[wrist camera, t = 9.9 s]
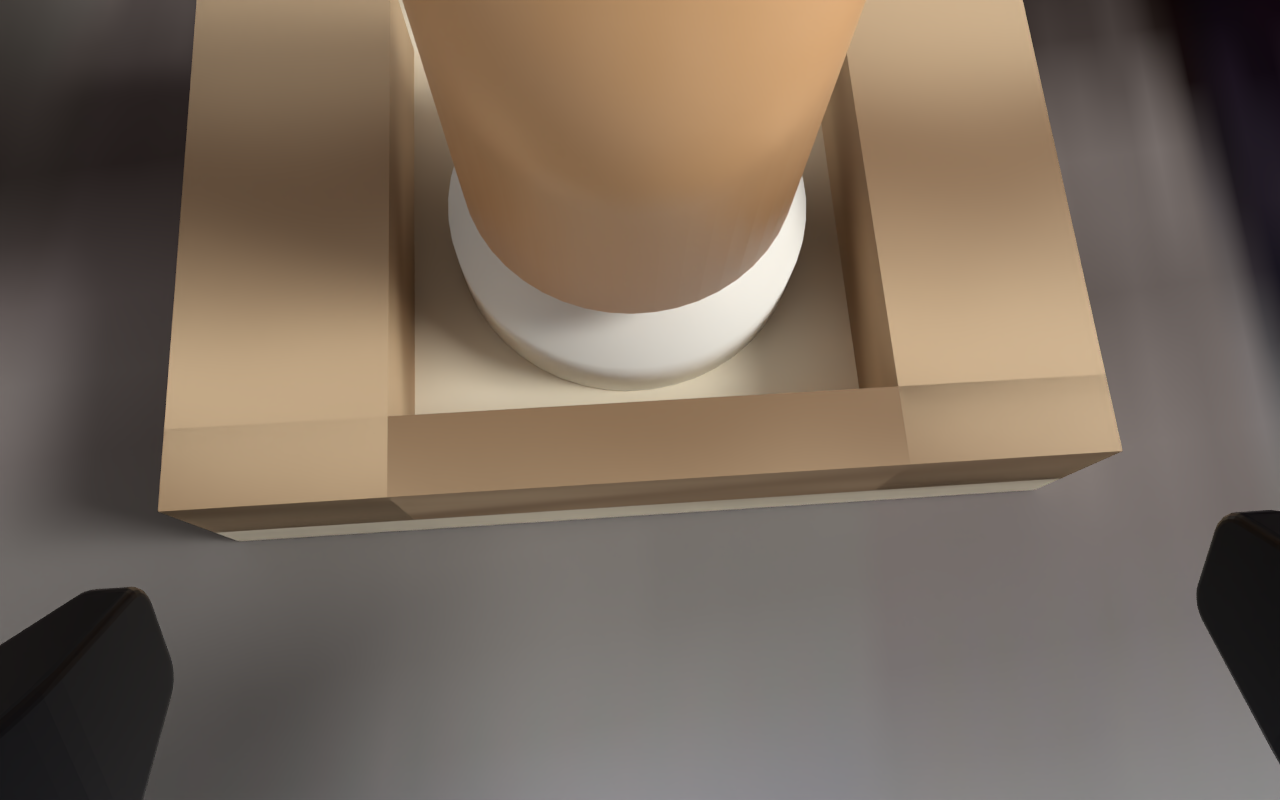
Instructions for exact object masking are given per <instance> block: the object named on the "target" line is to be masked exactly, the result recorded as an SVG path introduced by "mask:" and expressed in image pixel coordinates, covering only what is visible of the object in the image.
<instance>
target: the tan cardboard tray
mask: <svg viewBox="0 0 1280 800" xmlns="http://www.w3.org/2000/svg"><path fill="white" fill-rule="evenodd" d="M453 168H454V164H453V160H452V157H451V154H450V151H449V148H448V144H447V141H446V138H445V135H444V132H443V128H442V125H441V122H440V119H439V116H438V113H437V109H436V106H435V103H434V100H433V97H432V93H431V90H430V87H429V84H428V81H427V77H426V74H425V71H424V68H423V65H422V61H421V58H420V55H419V52H418V49H417V46H416V42H415V39H414V36H413V33H412V30H411V26H410V23H409V20H408V17H407V14H406V10H405V7H404V4H403V1H402V0H197V4H196V17H195V30H194V44H193V57H192V70H191V83H190V96H189V109H188V122H187V135H186V149H185V162H184V175H183V188H182V201H181V214H180V227H179V240H178V254H177V267H176V280H175V293H174V306H173V319H172V332H171V345H170V359H169V372H168V385H167V398H166V411H165V424H164V437H163V450H162V464H161V477H160V490H159V503H158V512H160V513H163V514H166V515H168V516H171V517H174V518H177V519H179V520H182V521H185V522H187V523H190V524H193V525H196V526H198V527H201V528H204V529H206V530H209V531H212V532H215V533H217V534H220V535H223V536H225V537H228V538H231V539H234V540H236V541H252V540H268V539H283V538H299V537H314V536H330V535H345V534H361V533H376V532H392V531H407V530H423V529H438V528H454V527H469V526H484V525H500V524H515V523H531V522H546V521H562V520H577V519H593V518H608V517H624V516H639V515H655V514H670V513H686V512H701V511H717V510H732V509H748V508H763V507H778V506H794V505H809V504H825V503H840V502H856V501H871V500H887V499H902V498H918V497H933V496H949V495H964V494H980V493H995V492H1011V491H1026V490H1036V489H1038V488H1040V487H1042V486H1045V485H1047V484H1049V483H1051V482H1054V481H1056V480H1058V479H1060V478H1063V477H1065V476H1067V475H1069V474H1072V473H1074V472H1076V471H1078V470H1081V469H1083V468H1085V467H1088V466H1090V465H1092V464H1094V463H1097V462H1099V461H1101V460H1103V459H1106V458H1108V457H1110V456H1112V455H1115V454H1117V453H1119V452H1121V451H1122V447H1121V442H1120V438H1119V433H1118V429H1117V424H1116V420H1115V415H1114V410H1113V406H1112V401H1111V397H1110V392H1109V388H1108V383H1107V379H1106V374H1105V370H1104V365H1103V361H1102V356H1101V352H1100V347H1099V343H1098V338H1097V334H1096V329H1095V325H1094V320H1093V316H1092V311H1091V307H1090V302H1089V298H1088V293H1087V289H1086V284H1085V280H1084V275H1083V271H1082V266H1081V262H1080V257H1079V253H1078V248H1077V244H1076V239H1075V234H1074V230H1073V225H1072V221H1071V216H1070V212H1069V207H1068V203H1067V198H1066V194H1065V189H1064V185H1063V180H1062V176H1061V171H1060V167H1059V162H1058V158H1057V153H1056V149H1055V144H1054V140H1053V135H1052V131H1051V126H1050V122H1049V117H1048V113H1047V108H1046V104H1045V99H1044V95H1043V90H1042V86H1041V81H1040V77H1039V72H1038V68H1037V63H1036V58H1035V54H1034V49H1033V45H1032V40H1031V36H1030V31H1029V27H1028V22H1027V18H1026V13H1025V9H1024V4H1023V0H866V2H865V5H864V7H863V10H862V13H861V16H860V18H859V21H858V24H857V27H856V29H855V32H854V35H853V37H852V40H851V43H850V46H849V48H848V51H847V54H846V57H845V59H844V62H843V65H842V68H841V70H840V73H839V76H838V79H837V81H836V84H835V87H834V89H833V92H832V95H831V98H830V100H829V103H828V106H827V109H826V111H825V114H824V117H823V120H822V122H821V125H820V128H819V131H818V133H817V136H816V139H815V142H814V144H813V147H812V150H811V152H810V155H809V158H808V161H807V163H806V166H805V169H804V172H803V174H802V177H803V182H804V189H805V196H806V223H805V230H804V236H803V242H802V245H801V249H800V252H799V255H798V258H797V262H796V264H795V266H794V269H793V271H792V273H791V276H790V278H789V280H788V283H787V285H786V287H785V290H784V292H783V294H782V296H781V298H780V300H779V303H778V305H777V307H776V309H775V311H774V312H773V314H772V315H771V317H770V318H769V320H768V321H767V323H766V324H765V326H764V327H763V328H762V329H761V330H760V332H759V333H758V334H757V335H756V336H755V337H754V338H753V340H752V341H751V342H750V343H749V344H748V345H746V346H745V347H744V348H743V349H742V350H741V351H739V352H738V353H737V354H736V355H735V356H734V357H732V358H731V359H729V360H727V361H726V362H724V363H723V364H721V365H720V366H718V367H717V368H715V369H713V370H711V371H709V372H707V373H705V374H703V375H701V376H699V377H696V378H694V379H691V380H688V381H685V382H682V383H679V384H676V385H672V386H667V387H662V388H656V389H651V390H636V391H620V390H605V389H599V388H594V387H589V386H583V385H580V384H577V383H574V382H571V381H567V380H564V379H561V378H559V377H557V376H555V375H553V374H551V373H548V372H546V371H544V370H542V369H540V368H539V367H537V366H535V365H534V364H532V363H531V362H529V361H528V360H526V359H524V358H523V357H521V356H520V355H519V354H518V353H517V352H516V351H514V350H513V349H512V348H511V347H510V346H508V345H507V344H506V343H505V342H504V341H503V340H502V339H501V338H500V337H499V335H498V334H497V333H496V332H495V331H494V330H493V329H492V328H491V326H490V325H489V324H488V322H487V321H486V319H485V318H484V316H483V315H482V313H481V312H480V310H479V309H478V307H477V304H476V302H475V300H474V298H473V296H472V294H471V292H470V290H469V287H468V285H467V282H466V279H465V277H464V274H463V271H462V269H461V266H460V263H459V260H458V257H457V254H456V251H455V248H454V245H453V242H452V237H451V231H450V225H449V217H448V196H449V188H450V180H451V175H452V172H453Z"/></svg>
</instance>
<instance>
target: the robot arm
mask: <svg viewBox="0 0 1280 800" xmlns="http://www.w3.org/2000/svg"><path fill="white" fill-rule="evenodd" d="M1196 598H1197V606H1198V610H1199V613H1200V616H1201V618H1202V621H1203V622H1204V624H1205V626H1206V628H1207V630H1208V632H1209V634H1210V635H1211V637H1212V639H1213V641H1214V643H1215V645H1216V647H1217V649H1218V650H1219V652H1220V654H1221V656H1222V658H1223V660H1224V662H1225V664H1226V665H1227V667H1228V669H1229V671H1230V673H1231V675H1232V677H1233V678H1234V680H1235V682H1236V684H1237V686H1238V688H1239V690H1240V692H1241V693H1242V695H1243V697H1244V699H1245V701H1246V703H1247V705H1248V706H1249V708H1250V710H1251V712H1252V714H1253V716H1254V718H1255V720H1256V721H1257V723H1258V725H1259V727H1260V729H1261V731H1262V733H1263V735H1264V736H1265V738H1266V740H1267V742H1268V744H1269V746H1270V748H1271V749H1272V751H1273V753H1274V755H1275V756H1276V758H1277V760H1278V762H1279V764H1280V511H1274V510H1263V511H1249V512H1234V513H1231V514H1229V515H1226V516H1225V517H1223V518H1222V520H1221V521H1220V522H1219V523H1218V525H1217V527H1216V529H1215V532H1214V535H1213V538H1212V542H1211V545H1210V548H1209V551H1208V554H1207V557H1206V561H1205V564H1204V567H1203V570H1202V573H1201V576H1200V580H1199V583H1198V587H1197V597H1196ZM172 689H173V666H172V661H171V658H170V655H169V652H168V649H167V646H166V644H165V641H164V638H163V635H162V632H161V629H160V626H159V624H158V621H157V618H156V615H155V612H154V609H153V606H152V604H151V602H150V599H149V597H148V596H147V595H146V593H145V592H144V591H142V590H141V589H138V588H136V587H124V588H109V589H95V590H89V591H86V592H83V593H81V594H80V595H78V596H76V597H75V598H73V599H72V600H70V601H69V602H67V603H65V604H64V605H62V606H61V607H59V608H58V609H56V610H55V611H53V612H51V613H50V614H48V615H47V616H45V617H44V618H42V619H40V620H39V621H37V622H36V623H34V624H33V625H31V626H30V627H28V628H26V629H25V630H23V631H22V632H20V633H19V634H17V635H15V636H14V637H12V638H11V639H9V640H8V641H6V642H4V643H3V644H1V645H0V800H143V797H144V794H145V790H146V786H147V783H148V779H149V775H150V772H151V768H152V764H153V761H154V757H155V753H156V749H157V746H158V742H159V738H160V735H161V731H162V727H163V724H164V720H165V716H166V713H167V709H168V705H169V702H170V698H171V694H172Z"/></svg>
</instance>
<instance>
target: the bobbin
mask: <svg viewBox="0 0 1280 800" xmlns="http://www.w3.org/2000/svg"><path fill="white" fill-rule="evenodd" d="M402 1H403V4H404V7H405V10H406V14H407V17H408V20H409V23H410V26H411V30H412V33H413V36H414V39H415V42H416V46H417V49H418V52H419V55H420V58H421V61H422V65H423V68H424V71H425V74H426V77H427V81H428V84H429V87H430V90H431V93H432V97H433V100H434V103H435V106H436V109H437V113H438V116H439V119H440V122H441V125H442V128H443V132H444V135H445V138H446V141H447V144H448V148H449V151H450V154H451V157H452V160H453V164H454V168H453V172H452V175H451V180H450V188H449V196H448V217H449V225H450V231H451V237H452V242H453V245H454V248H455V251H456V254H457V257H458V260H459V263H460V266H461V269H462V271H463V274H464V277H465V279H466V282H467V285H468V287H469V290H470V292H471V294H472V296H473V298H474V300H475V302H476V304H477V307H478V309H479V310H480V312H481V313H482V315H483V316H484V318H485V319H486V321H487V322H488V324H489V325H490V326H491V328H492V329H493V330H494V331H495V332H496V333H497V334H498V335H499V337H500V338H501V339H502V340H503V341H504V342H505V343H506V344H507V345H508V346H510V347H511V348H512V349H513V350H514V351H516V352H517V353H518V354H519V355H520V356H521V357H523V358H524V359H526V360H528V361H529V362H531V363H532V364H534V365H535V366H537V367H539V368H540V369H542V370H544V371H546V372H548V373H551V374H553V375H555V376H557V377H559V378H561V379H564V380H567V381H571V382H574V383H577V384H580V385H583V386H589V387H594V388H599V389H605V390H620V391H636V390H651V389H656V388H662V387H667V386H672V385H676V384H679V383H682V382H685V381H688V380H691V379H694V378H696V377H699V376H701V375H703V374H705V373H707V372H709V371H711V370H713V369H715V368H717V367H718V366H720V365H721V364H723V363H724V362H726V361H727V360H729V359H731V358H732V357H734V356H735V355H736V354H737V353H738V352H739V351H741V350H742V349H743V348H744V347H745V346H746V345H748V344H749V343H750V342H751V341H752V340H753V338H754V337H755V336H756V335H757V334H758V333H759V332H760V330H761V329H762V328H763V327H764V326H765V324H766V323H767V321H768V320H769V318H770V317H771V315H772V314H773V312H774V311H775V309H776V307H777V305H778V303H779V300H780V298H781V296H782V294H783V292H784V290H785V287H786V285H787V283H788V280H789V278H790V276H791V273H792V271H793V269H794V266H795V264H796V262H797V258H798V255H799V252H800V249H801V245H802V242H803V236H804V230H805V223H806V196H805V189H804V182H803V177H802V174H803V172H804V169H805V166H806V163H807V161H808V158H809V155H810V152H811V150H812V147H813V144H814V142H815V139H816V136H817V133H818V131H819V128H820V125H821V122H822V120H823V117H824V114H825V111H826V109H827V106H828V103H829V100H830V98H831V95H832V92H833V89H834V87H835V84H836V81H837V79H838V76H839V73H840V70H841V68H842V65H843V62H844V59H845V57H846V54H847V51H848V48H849V46H850V43H851V40H852V37H853V35H854V32H855V29H856V27H857V24H858V21H859V18H860V16H861V13H862V10H863V7H864V5H865V2H866V0H402Z"/></svg>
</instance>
